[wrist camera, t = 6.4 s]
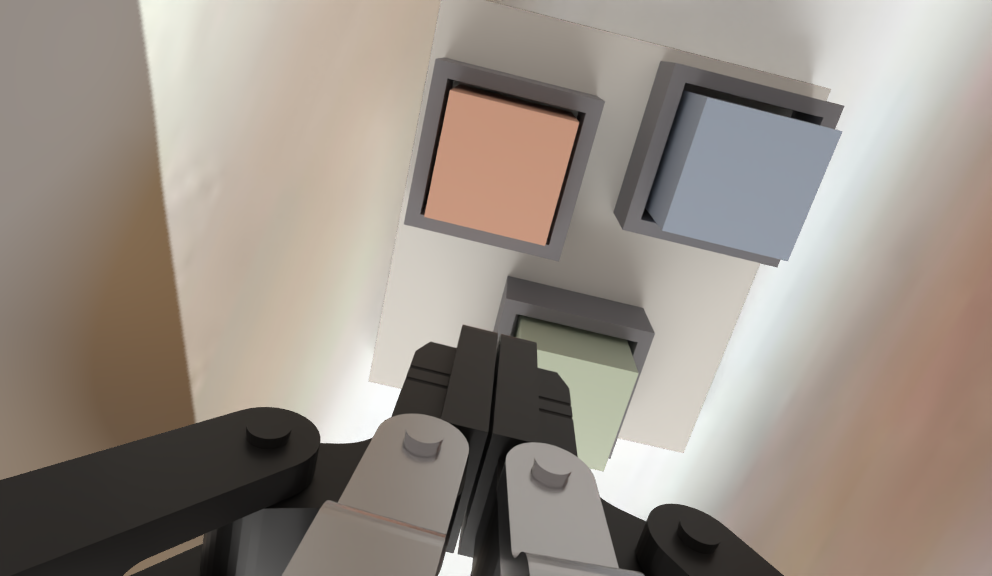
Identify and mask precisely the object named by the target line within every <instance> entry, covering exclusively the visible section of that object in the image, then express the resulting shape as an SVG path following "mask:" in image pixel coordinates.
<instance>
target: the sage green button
mask: <svg viewBox="0 0 992 576" xmlns="http://www.w3.org/2000/svg"><path fill="white" fill-rule="evenodd" d="M513 337H517V338H521V339H525V340H529V341H533V342H536V343H537V363H538V368H541V369H545V370H549V371H554V372H557V373H558V374H559V375H560V377H561V378H562V379H563V381H564V382H565V383H566V385H567V386H568V387H569V390H570V398H571V407H572V414H573V417H572V419H573V423H574V431H575V439H576V447H577V455H578V458H579V459H581V460H582V461H583V462H584V463H585V464H586V465H587V466H588V467H589V468H590V469H595V470H599V471H604V469H605V466H606V463H607V460H608V458H609V455H610V452H611V449H612V446H613V444H614V441H615V438H616V435H617V432H618V430H619V427H620V424H621V421H622V418H623V416H624V413H625V410H626V407H627V404H628V402H629V399H630V396H631V393H632V390H633V388H634V385H635V382H636V379H637V376H638V374H639V373H638V370H637V367H636V364H635V361H634V359H633V356H632V353H631V350H630V347H629V344H628V341H627V340H626V339H621V338H617V337H613V336H609V335H604V334H600V333H596V332H592V331H587V330H583V329H579V328H575V327H570V326H566V325H562V324H558V323H553V322H549V321H545V320H541V319H536V318H532V317H528V316H524V315H519V318H518V321H517V325H516V329H515V332H514V336H513Z"/></svg>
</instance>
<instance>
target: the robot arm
mask: <svg viewBox="0 0 992 576" xmlns="http://www.w3.org/2000/svg"><path fill="white" fill-rule="evenodd" d="M497 340H498V343H497ZM572 417H573V414H572V407H571V398H570V390H569V387H568V386H567V385H566V383H565V382H564V381H563V379H562V378H561V377H560V375H559V374H558V373H557V372H554V371H549V370H545V369H541V368H538V363H537V343H536V342H533V341H529V340H525V339H521V338H517V337H512V336H508V335H504V334H500V337H499V339H498V333H496V332H492V331H488V330H484V329H480V328H475V327H471V326H467V325H462V328H461V332H460V336H459V340H458V344H457V348H455V347H451V346H447V345H443V344H439V343H434V342H429V343H427V344H426V345H424V346H423V347H421V348H419V349H418V350H416V351H415V354H414V356H413V359H412V362H411V365H410V367H409V370H408V373H407V376H406V379H405V381H404V384H403V387H402V389H401V392H400V395H399V398H398V400H397V403H396V406H395V409H394V411H393V414H392V417H391V418H389V419H387V420H385V421H384V422H383V423H381V425H380V426H379V427H378V429H377V431H376V433H375V434H374V436H373V438H371V439H368V440H365V441H361V442H356V443H346V444H331V443H320V434H319V431H318V429H317V428H316V426H315V425H314V424H313V423H312V422H311V421H310V420H308V419H307V418H306V417H304V416H302V415H300V414H298V413H295V412H293V411H289V410H285V409H280V408H272V407H257V408H249V409H245V410H241V411H237V412H234V413H230V414H227V415H223V416H220V417H216V418H213V419H210V420H206V421H203V422H199V423H196V424H192V425H189V426H186V427H182V428H179V429H175V430H172V431H168V432H165V433H161V434H158V435H155V436H151V437H148V438H144V439H141V440H137V441H134V442H130V443H127V444H124V445H120V446H117V447H114V448H110V449H106V450H103V451H99V452H96V453H92V454H89V455H86V456H82V457H79V458H75V459H72V460H68V461H65V462H61V463H58V464H55V465H51V466H48V467H44V468H41V469H37V470H34V471H30V472H27V473H24V474H20V475H17V476H14V477H10V478H6V479H3V480H0V576H123V575H124V574H125V573H126V572H127V571H128V570H129V569H131V568H132V567H133V566H135V565H136V564H138V563H139V562H141V561H143V560H145V559H147V558H149V557H151V556H154V555H156V554H158V553H161V552H163V551H165V550H168V549H170V548H172V547H175V546H177V545H179V544H182V543H184V542H186V541H189V540H191V539H194V538H196V537H198V536H200V535H203V534H204V538H203V544H201V545H199V546H197V547H194V548H192V549H190V550H187V551H185V552H183V553H181V554H178V555H176V556H174V557H172V558H169V559H167V560H165V561H162V562H160V563H158V564H155V565H153V566H151V567H149V568H146V569H144V570H142V571H140V572H137V573H135V574H133V575H131V576H438V574H439V572H440V570H441V567H442V563H443V559H444V556H445V552H450V553H454V550H455V546H456V543H457V539H458V536H459V532H460V529H461V533H460V540H459V548H458V554H460V555H464V556H468V557H473V564H472V571H471V574H470V576H784V575H782V574H781V573H780V572H779V571H778V570H777V569H775V568H774V567H773V566H772V565H771V564H769V563H768V562H767V561H766V560H765V559H763V558H762V557H761V556H760V555H759V554H758V553H756V552H755V551H754V550H753V549H752V548H750V547H749V546H748V545H747V544H746V543H744V542H743V541H742V540H741V539H740V538H739V537H737V536H736V535H735V534H734V533H733V532H731V531H730V530H729V529H728V528H727V527H726V526H724V525H723V524H722V523H720V522H719V521H718V520H716V519H715V518H713V517H711V516H710V515H708V514H706V513H704V512H702V511H700V510H697V509H695V508H692V507H688V506H685V505H680V504H664V505H660V506H658V507H656V508H654V509H653V510H652V511H651V512H650V514H649V516H648V519H647V521H644V520H642V519H639V518H637V517H635V516H633V515H631V514H629V513H627V512H624V511H622V510H620V509H618V508H616V507H614V506H612V505H611V504H609V503H608V502H606V501H605V500H603V499H602V498H601V497H600V495H599V492H598V488H597V484H596V480H595V478H594V475H593V473H592V472H591V470H590V469H589V467H588V466H587V465H586V464H585V463H584V462H583V461H582V460H581V459H579V458H578V455H577V447H576V439H575V431H574V423H573V419H572Z"/></svg>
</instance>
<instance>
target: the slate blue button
mask: <svg viewBox="0 0 992 576" xmlns="http://www.w3.org/2000/svg"><path fill="white" fill-rule="evenodd" d="M841 134H842V131H839V130H835V129H832V128H828V127H824V126H821V125H817V124H813V123H809V122H806V121H802V120H798V119H795V118H791V117H787V116H783V115H779V114H775V113H771V112H767V111H763V110H759V109H755V108H751V107H747V106H743V105H739V104H736V103H732V102H728V101H724V100H720V99H716V98H712V97H708V96H704V95H700V94H696V93H692V92H688V91H684V90H683V92H682V95H681V98H680V101H679V104H678V107H677V111H676V114H675V117H674V120H673V123H672V126H671V129H670V132H669V135H668V138H667V141H666V144H665V147H664V150H663V153H662V156H661V159H660V162H659V166H658V169H657V172H656V175H655V178H654V181H653V184H652V187H651V190H650V193H649V196H648V199H647V202H646V205H645V208H646V210H647V211H648V212H649V214H650V215H651V217H652V218H653V219H654V221H655V222H656V223H657V225H658V226H659V227H660V229H661V230H662V231H666V232H670V233H674V234H678V235H682V236H686V237H690V238H694V239H698V240H703V241H707V242H711V243H715V244H719V245H723V246H727V247H731V248H735V249H739V250H744V251H748V252H752V253H756V254H760V255H764V256H768V257H772V258H776V259H781V260H785V261H788V259H789V257H790V255H791V252H792V250H793V248H794V245H795V243H796V240H797V238H798V236H799V233H800V231H801V229H802V226H803V224H804V221H805V219H806V217H807V214H808V212H809V210H810V207H811V205H812V202H813V200H814V198H815V195H816V193H817V191H818V188H819V186H820V183H821V181H822V179H823V176H824V174H825V172H826V169H827V167H828V164H829V162H830V160H831V157H832V155H833V153H834V150H835V148H836V145H837V143H838V141H839V138H840V136H841Z"/></svg>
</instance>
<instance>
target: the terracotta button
mask: <svg viewBox="0 0 992 576" xmlns="http://www.w3.org/2000/svg"><path fill="white" fill-rule="evenodd" d="M578 125H579V121H578V120H577V119H576V117H575V116H574V115H573V113H572V112H569V111H565V110H561V109H557V108H553V107H549V106H545V105H541V104H537V103H533V102H529V101H525V100H521V99H517V98H513V97H509V96H505V95H501V94H497V93H493V92H489V91H485V90H481V89H477V88H473V87H469V86H465V85H461V84H459V85H457V86H456V87H454V88H453V89H451V90H450V92H449V97H448V102H447V107H446V112H445V117H444V122H443V127H442V132H441V136H440V141H439V146H438V151H437V156H436V161H435V166H434V171H433V176H432V181H431V186H430V191H429V195H428V200H427V205H426V210H425V215H424V217H427V218H431V219H435V220H439V221H443V222H448V223H452V224H456V225H460V226H464V227H468V228H473V229H477V230H481V231H485V232H489V233H493V234H497V235H502V236H506V237H510V238H514V239H518V240H522V241H527V242H531V243H535V244H539V245H543V246H545V245H546V241H547V237H548V234H549V230H550V226H551V223H552V219H553V216H554V212H555V208H556V205H557V201H558V198H559V194H560V190H561V187H562V183H563V180H564V176H565V172H566V169H567V165H568V161H569V158H570V154H571V151H572V147H573V143H574V140H575V136H576V133H577V129H578Z"/></svg>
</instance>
